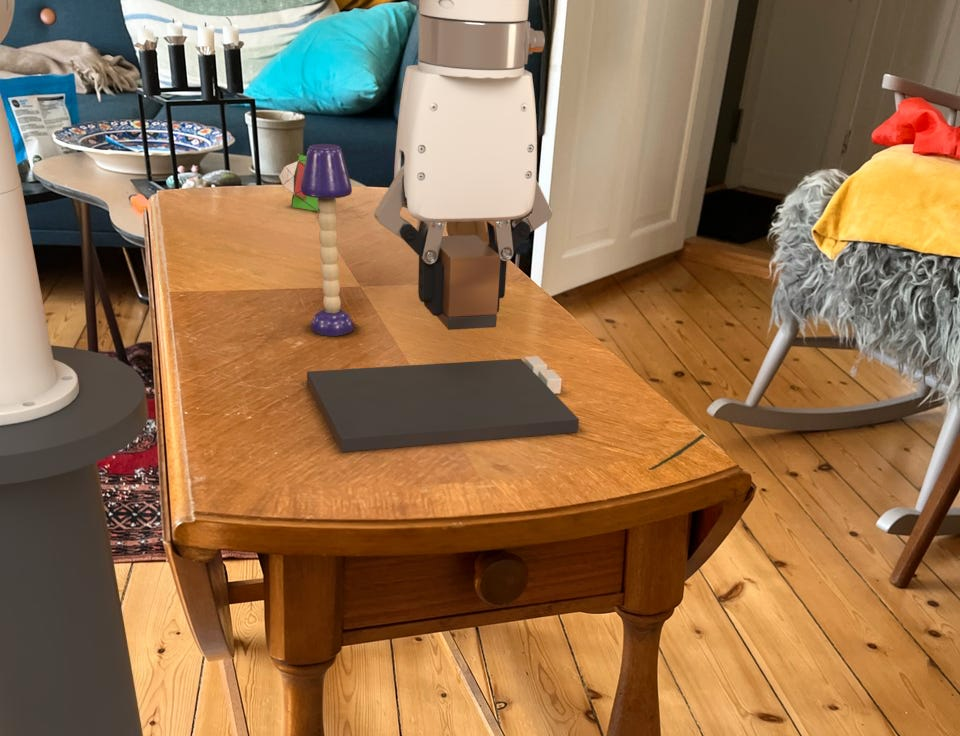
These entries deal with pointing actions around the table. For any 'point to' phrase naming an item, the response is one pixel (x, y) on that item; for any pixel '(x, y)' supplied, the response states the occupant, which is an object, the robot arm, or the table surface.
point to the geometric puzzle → (297, 184)
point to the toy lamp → (328, 230)
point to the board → (437, 404)
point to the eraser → (469, 283)
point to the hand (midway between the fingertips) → (461, 306)
